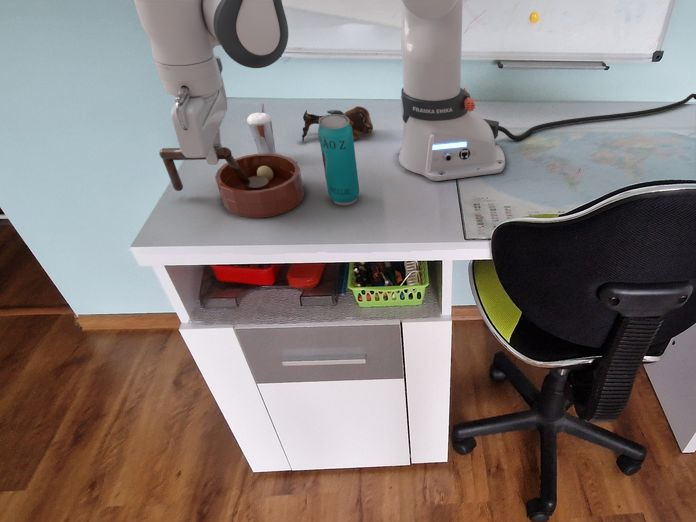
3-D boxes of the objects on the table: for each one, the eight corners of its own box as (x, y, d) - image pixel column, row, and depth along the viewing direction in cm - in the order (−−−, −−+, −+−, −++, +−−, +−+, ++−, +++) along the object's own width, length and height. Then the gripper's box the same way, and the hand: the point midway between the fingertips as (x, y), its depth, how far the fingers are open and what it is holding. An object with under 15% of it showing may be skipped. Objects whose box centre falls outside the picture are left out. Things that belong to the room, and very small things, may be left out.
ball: (275, 177, 105) (272, 162, 103) (273, 184, 103) (270, 170, 101) (259, 177, 105) (256, 163, 103) (257, 185, 103) (254, 170, 101)
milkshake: (284, 152, 114) (273, 104, 107) (275, 164, 110) (264, 115, 103) (263, 150, 114) (251, 102, 107) (253, 162, 110) (240, 113, 103)
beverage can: (330, 191, 104) (318, 113, 93) (361, 191, 104) (352, 113, 93) (328, 207, 100) (314, 127, 89) (359, 207, 100) (349, 127, 89)
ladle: (271, 182, 102) (262, 141, 97) (268, 194, 99) (258, 152, 94) (176, 184, 100) (160, 143, 95) (170, 196, 97) (154, 154, 92)
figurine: (374, 141, 119) (371, 113, 115) (302, 143, 117) (297, 115, 113) (373, 126, 124) (370, 99, 120) (304, 128, 122) (299, 101, 118)
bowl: (306, 176, 107) (302, 152, 104) (301, 216, 97) (295, 191, 94) (230, 178, 106) (223, 154, 102) (216, 219, 96) (208, 194, 92)
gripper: (197, 101, 79) (223, 187, 89) (222, 54, 93) (243, 133, 103) (151, 101, 78) (183, 188, 88) (184, 54, 92) (208, 133, 102)
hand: (215, 158), depth 96 cm, fingers closed on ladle, 2 cm apart
